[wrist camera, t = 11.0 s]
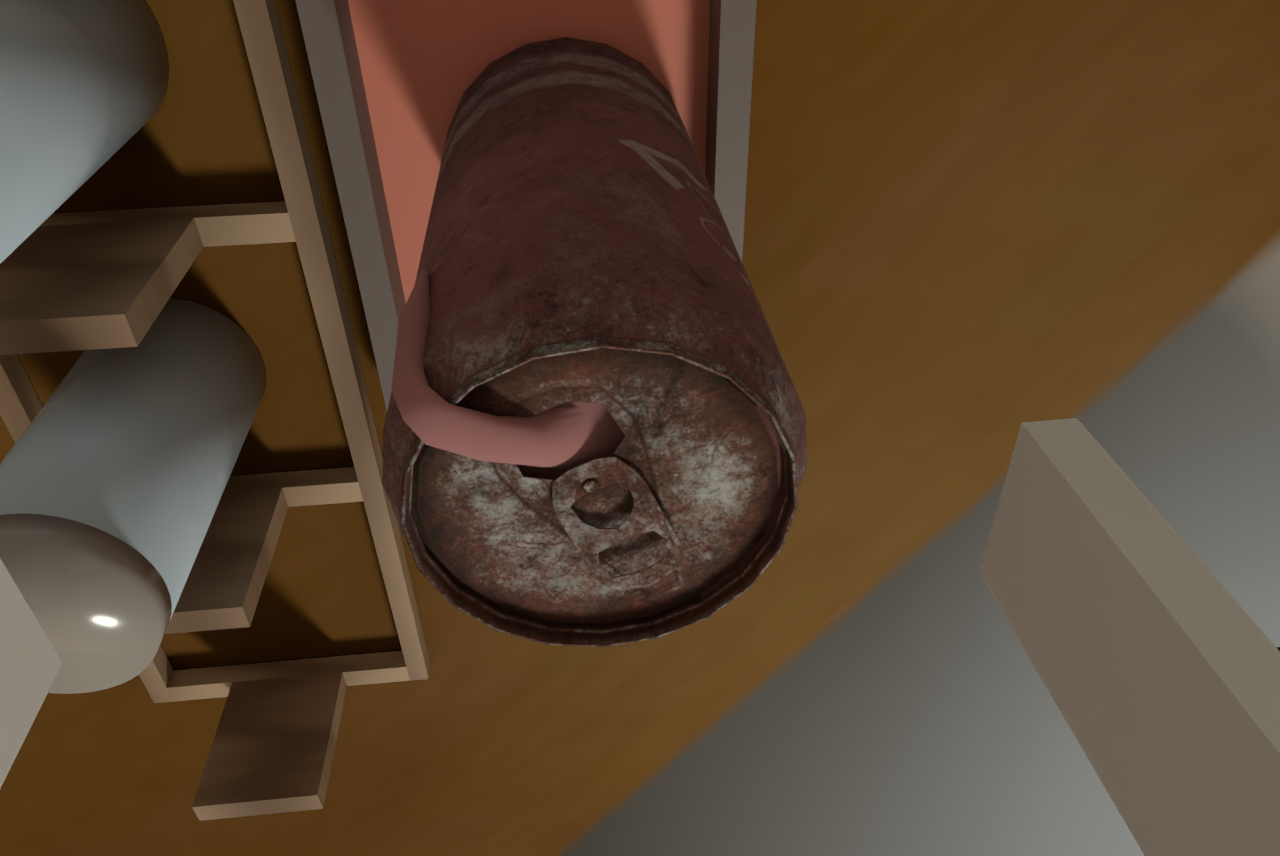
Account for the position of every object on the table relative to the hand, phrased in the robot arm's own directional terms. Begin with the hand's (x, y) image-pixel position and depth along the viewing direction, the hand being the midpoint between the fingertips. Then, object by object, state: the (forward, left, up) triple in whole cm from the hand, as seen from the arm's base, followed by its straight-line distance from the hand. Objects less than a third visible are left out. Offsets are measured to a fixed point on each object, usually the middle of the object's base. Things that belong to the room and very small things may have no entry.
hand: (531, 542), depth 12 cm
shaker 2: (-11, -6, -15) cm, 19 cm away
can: (+1, 0, -15) cm, 14 cm away
